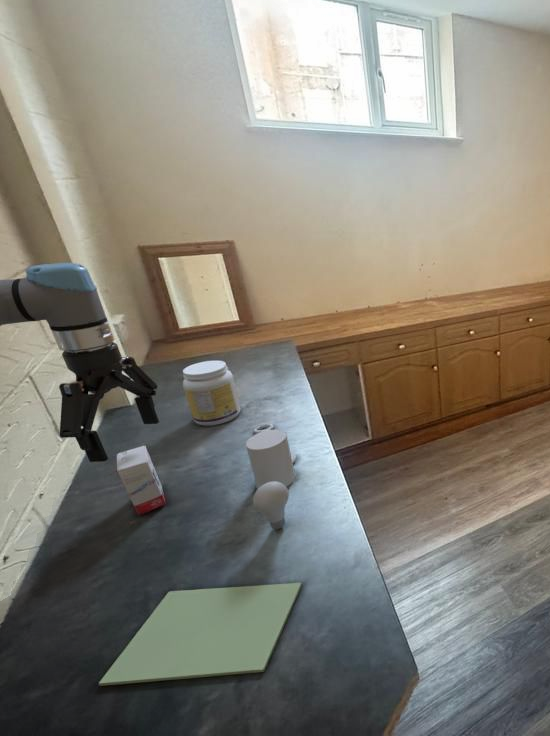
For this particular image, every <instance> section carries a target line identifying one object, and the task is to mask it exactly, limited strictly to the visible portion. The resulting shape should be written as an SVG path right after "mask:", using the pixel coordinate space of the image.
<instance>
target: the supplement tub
mask: <svg viewBox="0 0 550 736" xmlns="http://www.w3.org/2000/svg"><path fill="white" fill-rule="evenodd" d="M182 374H183V378H184V379H183V381H182V387H183V390H184V394H185V397H186V400H187V404H188V407H189V409H190V413H191V416H192V419H193V421H194V423H195V424H197V425H200V426H205V427H207V426H218V425H221V424H225V423H228V422H230V421H232V420H234V419H235V418H237V417H238V416H239V415H240V414H241V412H242V406H241V402H240V398H239V395H238V391H237V386H236V383H235V378H234V375H233V373H232V372H231V371H230V370H229V368H228V366H227V363H226V362H225V361H223V360H205V361H200V362H197V363H193V364H191V365H188V366H186V367H185V368H183V369H182Z"/></svg>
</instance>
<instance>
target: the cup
mask: <svg viewBox="0 0 550 736" xmlns="http://www.w3.org/2000/svg"><path fill="white" fill-rule="evenodd" d="M245 447H246V450H247V455H248V458H249V462H250V466H251V470H252V473H253V474H252V475H253V477H254V481H255V484H256V489H257V490H258V489H259V487H261V486H262V485H263V484H265V483H268V482H273V481H277V482H280V483H282V484H284V485H285V486H286V487H287V488H288V487H289V486H291V484H293V483H294V481H295V480H296V473H295V468H294V463H293V462H292V458H291V453H292V452H291V449H290V444H289V439H288V434H287V432H286V431H285V430H282V429H272V430H267V431H263V432H260V433H258V434H256V433H255V434H253V435H252V436H251V437H249V438H248V439H247V440H246V442H245Z"/></svg>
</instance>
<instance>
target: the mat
mask: <svg viewBox="0 0 550 736" xmlns="http://www.w3.org/2000/svg"><path fill="white" fill-rule="evenodd" d="M302 586H303V583H302V582H289V583H274V584H259V585H245V586H231V587H230V586H229V587H215V588H199V589H185V590H183V589H182V590H170V591H168V592H167V594H166V595H165V596H164V598H163V599H161V601H160V603H158V605H157V606H156V607H155V609H154V610H153V611H152V613H151V614H150V615H149V617H148V618H147V619H146V621H145V622H144V623H143V625H142V626H141V628H139V630H138V631H137V632H136V634H135V635H134V637H133V638H132V639H131V640H130V642H129V643H128V644H127V646H125V648H124V649H123V651H122V652H121V653H120V655H119V656H118V657H117V658H116V660H115V661H114V663H113V664H112V665H111V666H110V668H109V669H108V670H107V672H106V673H105V674H104V676H103V677H101V679H100V681H98V686H99V687H107V686H116V685H128V684H139V683H149V682H151V683H152V682H161V681H172V680H183V679H184V680H186V679H195V678H196V679H197V678H208V677H221V676H232V675H233V676H234V675H243V674H244V675H245V674H254V673H264V672H265V671H266V669H267V667H268V664H269V662H270V659H271V657H272V655H273V652H274V650H275V648H276V645H277V643H278V641H279V639H280V637H281V634H282V632H283V629H284V627H285V626H286V623H287V622H288V621H287V620H288V618H289V616H290V614H291V612H292V609H293V607H294V604H295V602H296V600H297V598H298V595H299V593H300V590H301V589H302Z"/></svg>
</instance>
